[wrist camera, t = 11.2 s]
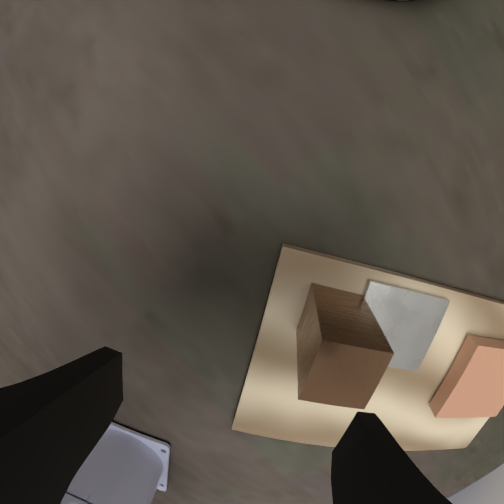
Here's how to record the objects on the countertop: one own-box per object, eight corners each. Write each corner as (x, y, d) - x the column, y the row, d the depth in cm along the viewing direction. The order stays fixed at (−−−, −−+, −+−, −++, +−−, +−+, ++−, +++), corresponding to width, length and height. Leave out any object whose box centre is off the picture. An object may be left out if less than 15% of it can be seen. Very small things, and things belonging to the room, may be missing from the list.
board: (463, 442, 20) (465, 447, 19) (232, 421, 21) (231, 429, 20) (540, 312, 16) (545, 316, 15) (282, 242, 17) (282, 246, 16)
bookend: (414, 366, 17) (447, 428, 11) (291, 344, 18) (290, 415, 12) (446, 298, 16) (497, 347, 10) (316, 265, 16) (331, 316, 10)
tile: (427, 402, 18) (487, 404, 17) (435, 417, 16) (495, 416, 16) (466, 332, 16) (523, 342, 16) (478, 345, 15) (534, 353, 14)
